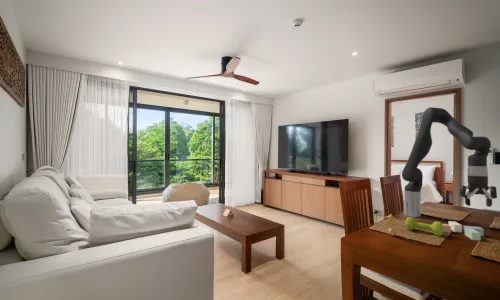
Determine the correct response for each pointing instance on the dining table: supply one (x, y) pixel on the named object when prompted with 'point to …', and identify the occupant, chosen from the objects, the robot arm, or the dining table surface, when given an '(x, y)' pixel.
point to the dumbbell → (424, 226)
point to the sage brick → (472, 234)
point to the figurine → (390, 230)
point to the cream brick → (455, 226)
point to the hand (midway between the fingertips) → (478, 206)
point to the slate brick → (475, 229)
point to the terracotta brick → (446, 228)
